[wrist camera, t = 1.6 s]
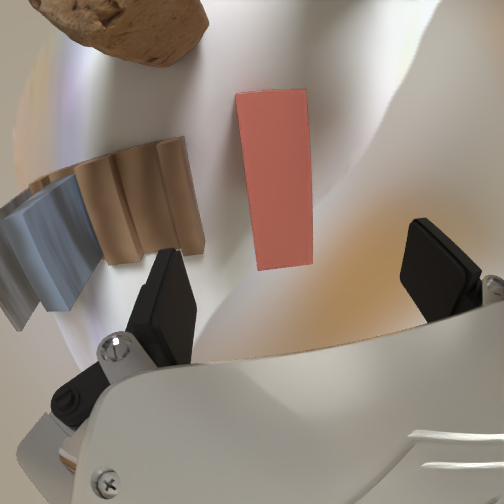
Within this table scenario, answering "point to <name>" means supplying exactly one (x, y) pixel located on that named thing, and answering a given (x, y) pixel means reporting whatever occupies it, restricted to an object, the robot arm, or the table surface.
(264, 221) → the book
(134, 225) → the book stand
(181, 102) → the table surface
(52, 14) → the block
